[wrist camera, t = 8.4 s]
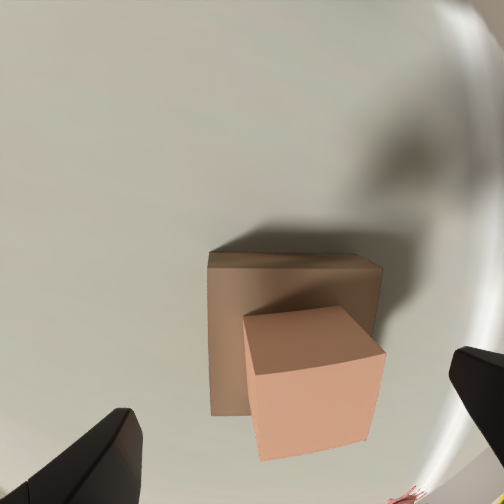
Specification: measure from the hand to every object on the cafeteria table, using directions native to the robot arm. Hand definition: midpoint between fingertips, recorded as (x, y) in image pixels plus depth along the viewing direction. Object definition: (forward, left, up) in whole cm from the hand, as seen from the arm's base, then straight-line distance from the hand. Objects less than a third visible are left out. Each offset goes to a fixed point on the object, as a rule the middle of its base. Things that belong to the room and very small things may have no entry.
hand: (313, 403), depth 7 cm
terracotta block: (-1, +3, -8) cm, 9 cm away
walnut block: (-1, +3, -12) cm, 13 cm away
